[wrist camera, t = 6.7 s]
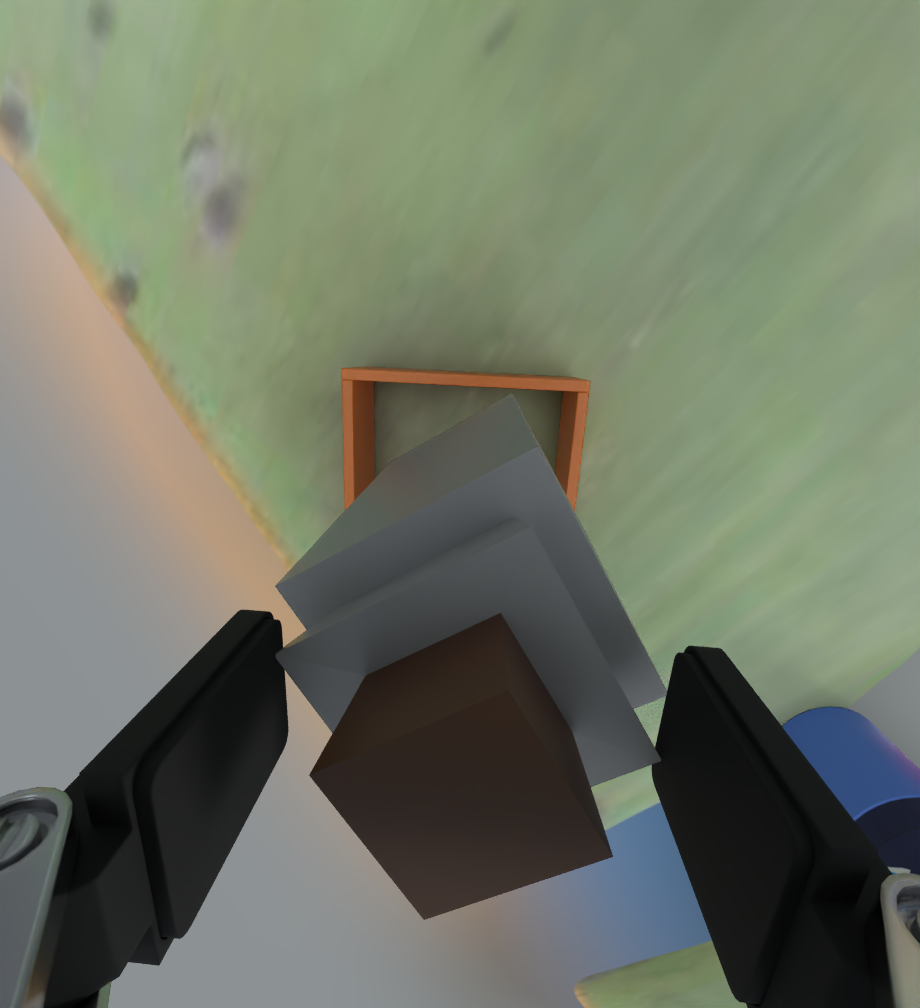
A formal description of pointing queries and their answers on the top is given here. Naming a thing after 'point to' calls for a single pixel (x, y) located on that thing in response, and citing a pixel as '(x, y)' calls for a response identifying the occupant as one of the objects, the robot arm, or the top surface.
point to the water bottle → (865, 780)
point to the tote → (362, 385)
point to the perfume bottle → (468, 667)
